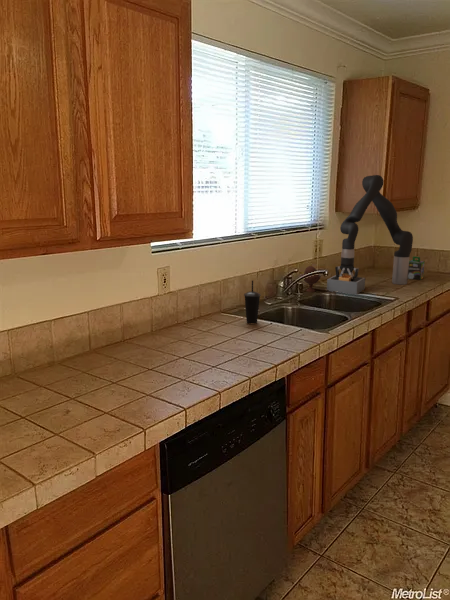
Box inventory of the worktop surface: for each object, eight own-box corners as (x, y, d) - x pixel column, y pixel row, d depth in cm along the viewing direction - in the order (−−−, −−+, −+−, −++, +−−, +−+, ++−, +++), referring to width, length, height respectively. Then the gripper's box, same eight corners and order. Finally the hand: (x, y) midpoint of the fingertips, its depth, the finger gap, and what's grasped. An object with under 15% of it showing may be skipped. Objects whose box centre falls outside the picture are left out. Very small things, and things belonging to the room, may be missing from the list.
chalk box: (423, 278, 343) (425, 256, 340) (420, 280, 336) (422, 257, 332) (409, 276, 348) (411, 254, 345) (406, 278, 341) (407, 256, 337)
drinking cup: (248, 325, 234) (249, 282, 229) (240, 321, 240) (241, 279, 236) (263, 323, 237) (264, 281, 232) (254, 319, 244) (255, 278, 239)
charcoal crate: (335, 285, 318) (336, 274, 317) (364, 289, 309) (365, 277, 308) (326, 290, 305) (327, 279, 303) (356, 294, 296) (357, 282, 294)
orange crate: (343, 284, 312) (344, 274, 311) (353, 285, 309) (354, 275, 308) (338, 287, 304) (338, 277, 302) (348, 288, 301) (348, 278, 299)
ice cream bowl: (321, 292, 299) (322, 267, 296) (302, 292, 300) (303, 267, 296) (318, 288, 310) (319, 264, 306) (300, 288, 310) (301, 264, 306)
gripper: (361, 256, 302) (359, 284, 306) (338, 254, 309) (336, 282, 313) (357, 258, 296) (356, 286, 300) (333, 256, 303) (332, 284, 307)
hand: (346, 284), depth 306 cm, fingers closed on orange crate, 5 cm apart
